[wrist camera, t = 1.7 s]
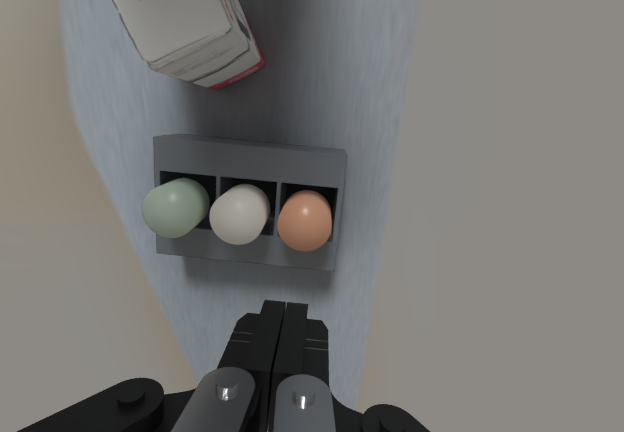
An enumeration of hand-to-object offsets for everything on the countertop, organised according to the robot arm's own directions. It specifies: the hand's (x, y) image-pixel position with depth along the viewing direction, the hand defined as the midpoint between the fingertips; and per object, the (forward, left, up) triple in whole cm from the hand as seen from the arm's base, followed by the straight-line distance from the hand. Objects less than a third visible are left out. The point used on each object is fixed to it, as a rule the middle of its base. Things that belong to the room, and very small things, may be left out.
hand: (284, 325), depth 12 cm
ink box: (-7, -14, -20) cm, 25 cm away
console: (+2, -4, -19) cm, 20 cm away
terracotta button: (0, 0, -15) cm, 15 cm away
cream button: (+2, -4, -15) cm, 15 cm away
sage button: (+5, -8, -15) cm, 17 cm away
